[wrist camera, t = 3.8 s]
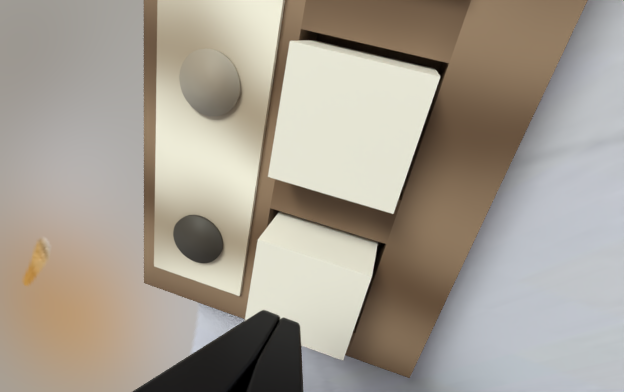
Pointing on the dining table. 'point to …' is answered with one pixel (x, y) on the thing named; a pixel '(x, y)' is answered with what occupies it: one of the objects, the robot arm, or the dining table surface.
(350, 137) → the middle button
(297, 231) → the button
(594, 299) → the dining table surface
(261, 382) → the robot arm
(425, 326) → the button board
